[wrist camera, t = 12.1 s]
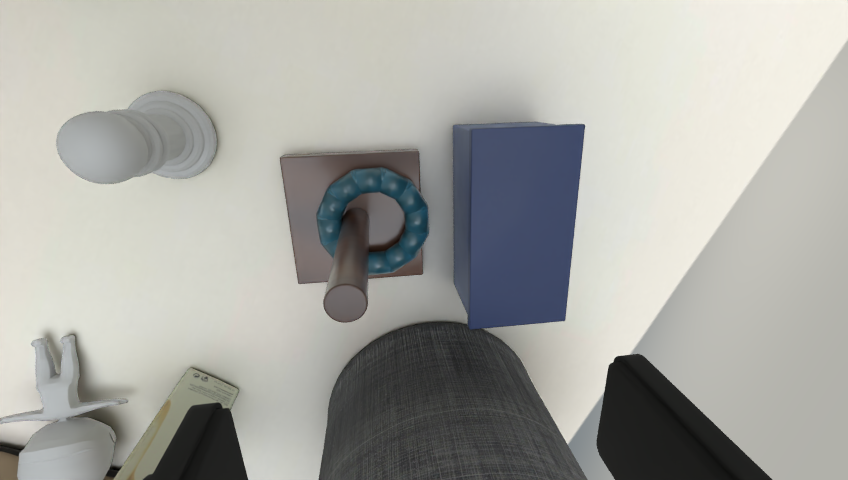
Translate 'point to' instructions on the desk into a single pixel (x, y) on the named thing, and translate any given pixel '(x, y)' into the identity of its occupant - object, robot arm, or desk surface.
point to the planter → (441, 412)
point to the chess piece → (139, 140)
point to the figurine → (64, 424)
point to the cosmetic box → (174, 421)
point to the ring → (389, 186)
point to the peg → (345, 224)
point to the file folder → (4, 465)
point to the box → (514, 220)
